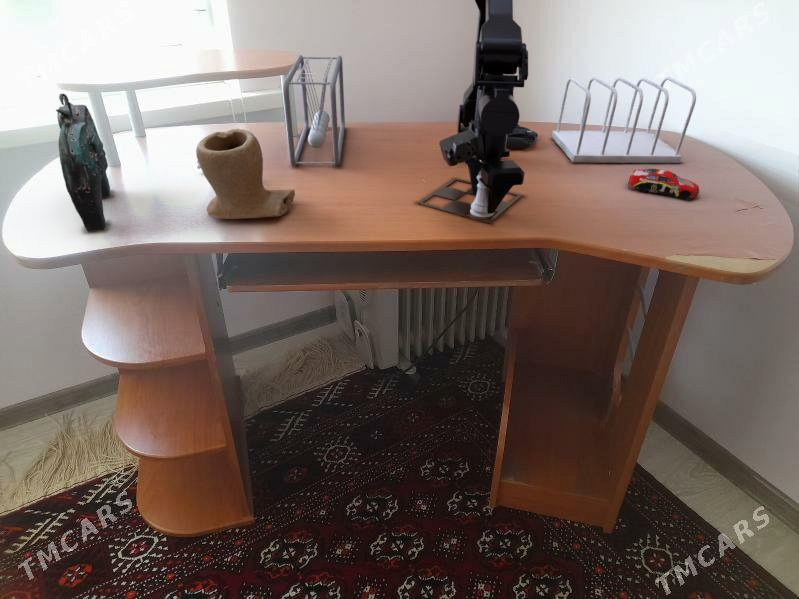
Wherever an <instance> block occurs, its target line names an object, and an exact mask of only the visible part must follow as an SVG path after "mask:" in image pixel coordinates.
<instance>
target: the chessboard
mask: <svg viewBox="0 0 799 599" xmlns="http://www.w3.org/2000/svg"><path fill="white" fill-rule="evenodd" d="M456 181H457V182H461V183H465V184H468V185H471V181H468V180H465V179H460V178H456V177H455V178H453V179H452V180H450V181H449V182H447V183H445V184H444V185H442V186H441V187H439V188H437V189H436V190H435V191H433V192H432V193H431V194H429V195H427V196H426V197H425V198H423V199H422V200H420V201H418V202H417V205H421V206H425V207H428V208H432V209H435V210H439V211H442V212H446V213H448V214H453V215H457V216H460V217H463V218H467V219H470V220H473V221H478V222H481V223H485V224H488V225H490V224H491V223H492V222H494V221H495V220H496V219H497V218H498V217H499V216H500V215H502V214H503V213H504V212H506V210H508V209H509V208H510V207H511V206H512V205H513V204H514V203H515V202H517V201H518V200H519V199H520V198H522V196H523V194H521V193H516V192H513V191H509V192H508V193H507V194H509V195H512V196H515V197H514V198H512V200H511V201H510V202H506V201H503V200H502V201H501V203H500V204H499V206H498V207H497V209H496V210H495V212H494V214H493V215H492V216H491V217H490V218H489V219H488V220H486V219H480V218H476V217H474V216H473V215H468V214H469V213H470V210H471V204H472V203H467V202H463V201H460V200H458V199H460V198H461V197H462V196H464V195H465V194H468V195H472V196H474V195H473V192H472V187H471V188H469V189H468V190H467V191H463V190H460V189H455V188H451V187H449V186H451V185H452V184H453V183H455V182H456ZM434 196H435V197H439V198H443V199H447V200H450V201H452V202H449V203H448V204H447V205H446V206H445V207H440V206H436V205H433V204H430V203H425V202H426V201H428V200H430V199H431V198H432V197H434ZM475 197H476V195H475ZM495 213H496V214H495Z"/></svg>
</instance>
